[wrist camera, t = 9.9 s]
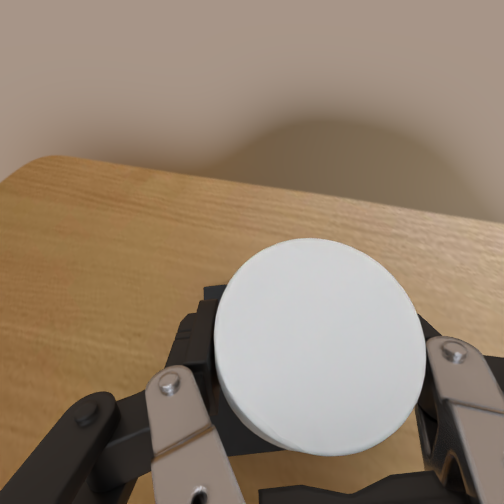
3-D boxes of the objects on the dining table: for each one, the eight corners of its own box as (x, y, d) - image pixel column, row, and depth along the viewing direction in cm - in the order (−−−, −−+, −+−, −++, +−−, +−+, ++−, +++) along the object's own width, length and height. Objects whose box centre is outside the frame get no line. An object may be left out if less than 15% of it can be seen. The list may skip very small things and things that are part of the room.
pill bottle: (214, 357, 15) (136, 327, 6) (282, 289, 16) (301, 183, 7) (288, 445, 13) (339, 598, 4) (357, 358, 14) (505, 326, 6)
